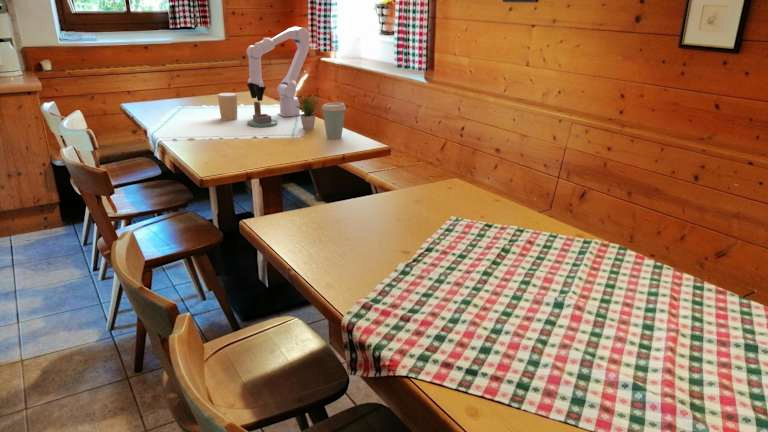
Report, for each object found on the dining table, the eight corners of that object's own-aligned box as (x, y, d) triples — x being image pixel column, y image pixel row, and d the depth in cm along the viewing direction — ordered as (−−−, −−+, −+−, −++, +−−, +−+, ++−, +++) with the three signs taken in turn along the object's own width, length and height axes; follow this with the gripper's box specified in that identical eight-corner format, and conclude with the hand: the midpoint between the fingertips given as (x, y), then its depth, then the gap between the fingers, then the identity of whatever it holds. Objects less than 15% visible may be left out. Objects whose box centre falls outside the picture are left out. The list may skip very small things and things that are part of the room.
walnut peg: (259, 117, 283) (258, 101, 280) (262, 118, 281) (261, 102, 278) (254, 117, 282) (253, 101, 279) (256, 118, 279) (255, 102, 276)
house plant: (318, 133, 256) (317, 97, 249) (289, 131, 258) (287, 95, 252) (327, 126, 268) (326, 92, 262) (299, 124, 271) (298, 90, 265)
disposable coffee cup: (324, 140, 244) (323, 106, 238) (320, 134, 254) (319, 101, 248) (348, 139, 247) (348, 105, 241) (343, 133, 256) (343, 100, 251)
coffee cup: (241, 117, 282) (239, 93, 278) (235, 121, 274) (233, 96, 269) (223, 116, 283) (221, 92, 279) (216, 120, 274) (214, 95, 270)
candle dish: (270, 119, 279) (269, 111, 277) (282, 125, 268) (281, 117, 267) (243, 122, 272) (242, 114, 270) (254, 128, 261) (253, 120, 259)
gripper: (242, 69, 276) (243, 97, 281) (253, 73, 265) (254, 102, 270) (255, 69, 280) (257, 96, 285) (267, 72, 269) (268, 101, 274)
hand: (256, 99), depth 278 cm, fingers open, 7 cm apart
